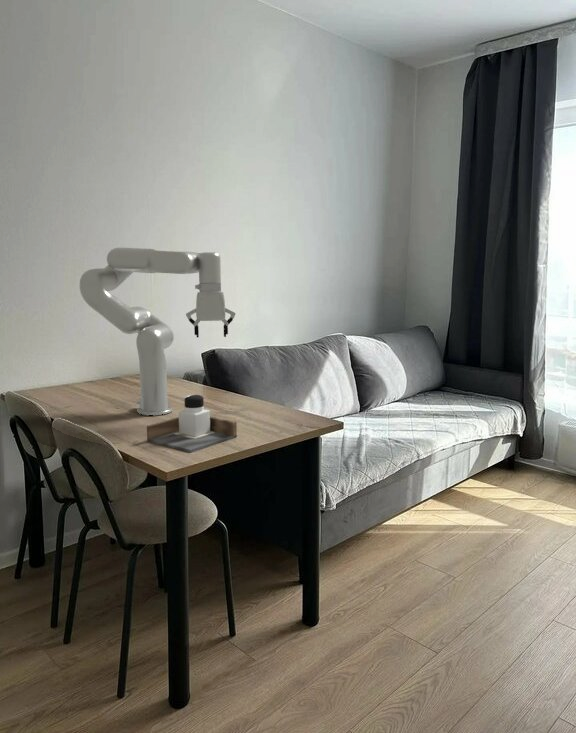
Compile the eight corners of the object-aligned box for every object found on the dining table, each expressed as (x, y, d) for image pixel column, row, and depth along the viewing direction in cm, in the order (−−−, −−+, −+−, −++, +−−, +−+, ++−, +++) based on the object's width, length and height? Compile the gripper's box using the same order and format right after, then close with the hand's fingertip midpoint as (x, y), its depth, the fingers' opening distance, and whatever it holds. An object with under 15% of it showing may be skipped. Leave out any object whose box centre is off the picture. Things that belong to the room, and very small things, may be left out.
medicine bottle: (210, 431, 200) (209, 395, 198) (195, 437, 194) (194, 399, 192) (193, 428, 204) (192, 392, 202) (178, 433, 198) (177, 396, 196)
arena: (147, 441, 193) (146, 425, 192) (194, 427, 209) (193, 413, 208) (190, 452, 182) (190, 435, 181) (236, 437, 198) (236, 421, 197)
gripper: (184, 288, 214) (186, 338, 217) (235, 288, 217) (236, 337, 220) (185, 287, 222) (186, 336, 225) (234, 287, 224) (235, 335, 227)
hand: (211, 336), depth 222 cm, fingers open, 9 cm apart
